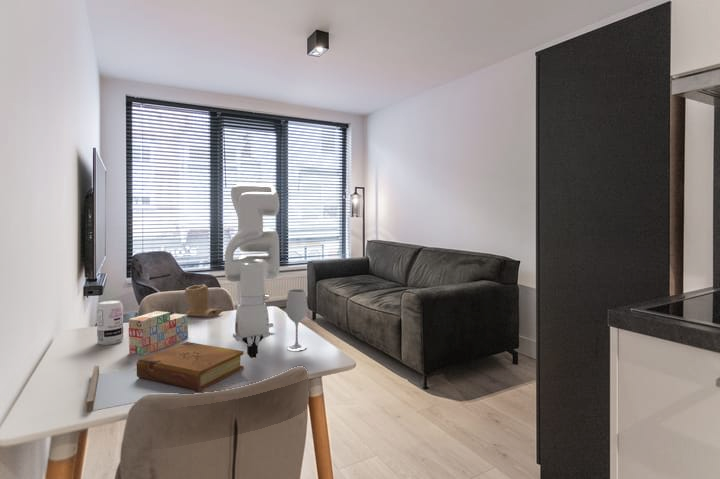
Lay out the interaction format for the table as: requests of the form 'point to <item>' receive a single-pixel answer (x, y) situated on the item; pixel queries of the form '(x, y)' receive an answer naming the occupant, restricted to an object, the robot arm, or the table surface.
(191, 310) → the stone cup
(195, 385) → the diary
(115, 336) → the supplement can
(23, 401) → the table surface
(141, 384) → the display board
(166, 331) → the stack of blocks
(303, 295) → the wineglass
